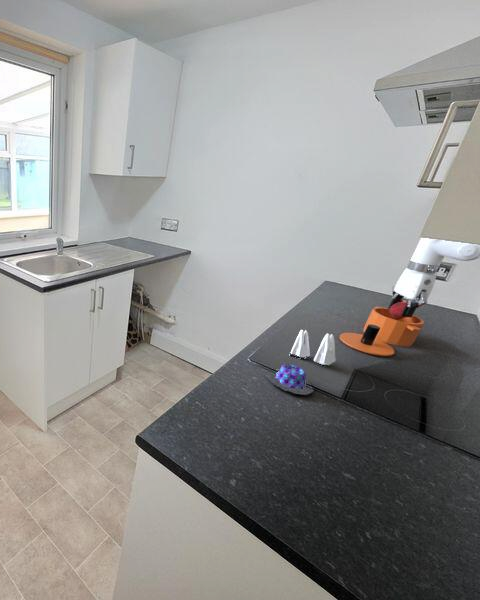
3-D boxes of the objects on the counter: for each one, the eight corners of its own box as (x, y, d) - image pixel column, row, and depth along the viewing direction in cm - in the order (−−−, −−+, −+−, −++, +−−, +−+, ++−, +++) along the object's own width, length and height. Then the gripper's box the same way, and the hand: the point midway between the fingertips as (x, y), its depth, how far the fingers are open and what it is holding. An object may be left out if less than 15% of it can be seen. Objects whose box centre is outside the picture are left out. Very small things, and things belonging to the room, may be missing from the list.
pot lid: (374, 338, 121) (383, 319, 118) (404, 360, 107) (415, 340, 104) (330, 333, 124) (338, 314, 121) (354, 353, 110) (363, 333, 106)
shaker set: (333, 365, 102) (346, 336, 98) (332, 371, 99) (345, 341, 95) (291, 351, 109) (301, 323, 105) (289, 355, 106) (299, 327, 102)
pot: (389, 327, 131) (400, 307, 127) (428, 352, 113) (442, 330, 109) (351, 323, 133) (360, 303, 130) (383, 347, 115) (395, 324, 112)
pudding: (313, 403, 84) (320, 388, 82) (264, 386, 90) (269, 371, 88) (312, 381, 94) (318, 366, 91) (267, 367, 99) (271, 353, 97)
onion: (390, 320, 119) (399, 301, 115) (383, 314, 124) (392, 296, 120) (409, 324, 117) (419, 304, 114) (401, 317, 122) (411, 299, 119)
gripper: (455, 276, 104) (429, 324, 111) (415, 262, 119) (394, 305, 126) (429, 273, 105) (405, 321, 112) (392, 260, 120) (373, 303, 127)
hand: (399, 312), depth 119 cm, fingers closed on onion, 5 cm apart
